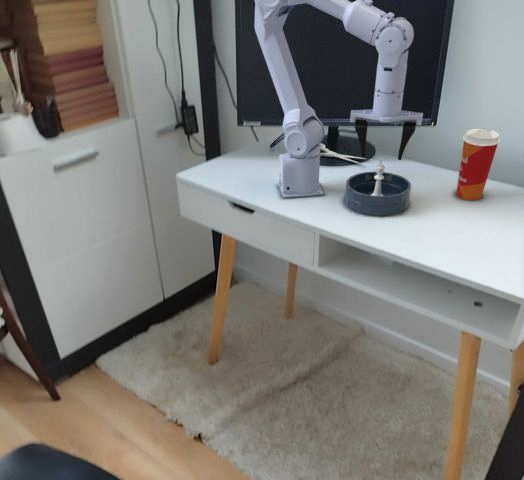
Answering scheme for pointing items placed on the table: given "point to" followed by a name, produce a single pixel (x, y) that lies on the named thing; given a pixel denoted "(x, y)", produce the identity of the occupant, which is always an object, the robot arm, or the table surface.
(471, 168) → the paper cup
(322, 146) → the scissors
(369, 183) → the bowl
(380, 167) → the chess piece
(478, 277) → the table surface
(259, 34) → the robot arm
